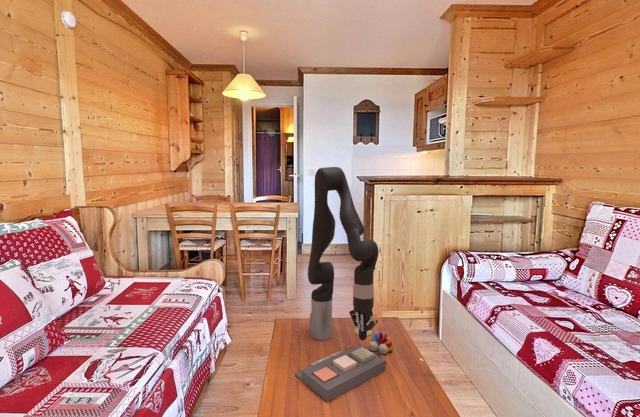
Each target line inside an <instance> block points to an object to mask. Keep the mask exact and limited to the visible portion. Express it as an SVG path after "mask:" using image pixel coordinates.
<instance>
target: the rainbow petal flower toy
mask: <svg viewBox="0 0 640 417" xmlns="http://www.w3.org/2000/svg"><path fill="white" fill-rule="evenodd" d="M388 336H389V335H388V333H383V332H382V331H378V332H376V333H375V332H374V333H373V332H372V334H371V339H370V340H369V344H368V345H369V346H368V347H369V349H370V351H371V352H377V351H379V353H380V354H382V355H385V354H387V353H388V352H391V351H392V350H393V346H394V342H393V339H392V338H388Z"/></svg>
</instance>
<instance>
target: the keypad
mask: <svg viewBox="0 0 640 417" xmlns="http://www.w3.org/2000/svg"><path fill="white" fill-rule="evenodd" d="M361 347H362V346H361V345H360V344H357V345H355V346H352V347H350V348H348V349H345V350H343V351H336V352H335V353H332V354H329V355H327V356H325V357H323V358H321V359H318V360H315V361H314V362H312V363H310V365H309V366H308V367H305V368H303V369H301V370H299V371H297V372H295V373H294V376H295V377H296V378H298V379H299V380H300V381H301V382H302V383H303V384H305V385H306V386H307V387H308V388H309V389H311V390H312V391H313V392H314V393H316V394H317V395H318V396H319V398H320V397H321V399H323V400H324V401H325V402H326V403H328V402H330V401H333V400H334V399H336V398H338V397H339V396H341V395H343V394H345V393H347V392H348V391H350V390H352V389H354V388H356V387H358V386H360V385H361V384H363V383H365V382H367V381H368V380H370V379H372V378H374V377H376V376H378V375H380V374H381V373H383V372H385V371H386V364H387V361H386V359H385V358H383V357H382V356H381V357H382V358H383V359H382V358H381V357H379V356H377V355H375V353H374V359H372V360H370V361H368V362H366V363H364V364H361V363H360V362H358V361H357V360H355V359H353V358H352V357H351V352H353V351H355V350H357V349H359V348H361ZM344 355H346V356H348V357H349V358H351V359H353V360H354V361H356V362H357V367H356V368H354V369H352V370H350V371H348V372H346V373H343V372H341V371H340V370H339V369H337V368H336V367H334V366H333V360H335V359H337V358H339V357H342V356H344ZM385 363H386V364H385ZM325 367H328V368H329V369H331V370H332V371H333V372H335V373H336V374H338V377H336V378H334V379H332V380H330V381H328V382H326V383H323V382H322V381H320V380H319V379H318V378H316V377H315V376H314V375H313V373H314V372H316V371H318V370H320V369H322V368H325Z"/></svg>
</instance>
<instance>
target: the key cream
mask: <svg viewBox="0 0 640 417" xmlns="http://www.w3.org/2000/svg"><path fill="white" fill-rule="evenodd" d="M333 366H334V367H336V368H337V369H339V370H340V371H341V372H343V373H346V372H348V371H350V370H352V369H354V368H356V367H357V362H356V361H354V360H353V359H351V358H349V357H348V356H346V355H344V356H342V357H339V358H337V359H335V360H333Z"/></svg>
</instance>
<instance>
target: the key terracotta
mask: <svg viewBox="0 0 640 417" xmlns="http://www.w3.org/2000/svg"><path fill="white" fill-rule="evenodd" d="M313 375H314V376H315V377H316V378H318V379H319V380H320V381H322V382H323V383H326V382H328V381H330V380H332V379H334V378H336V377H338V374H336V373H335V372H333V371H332V370H331V369H329V368H328V367H325V368H322V369H320V370H318V371H316V372H314V373H313Z"/></svg>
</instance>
